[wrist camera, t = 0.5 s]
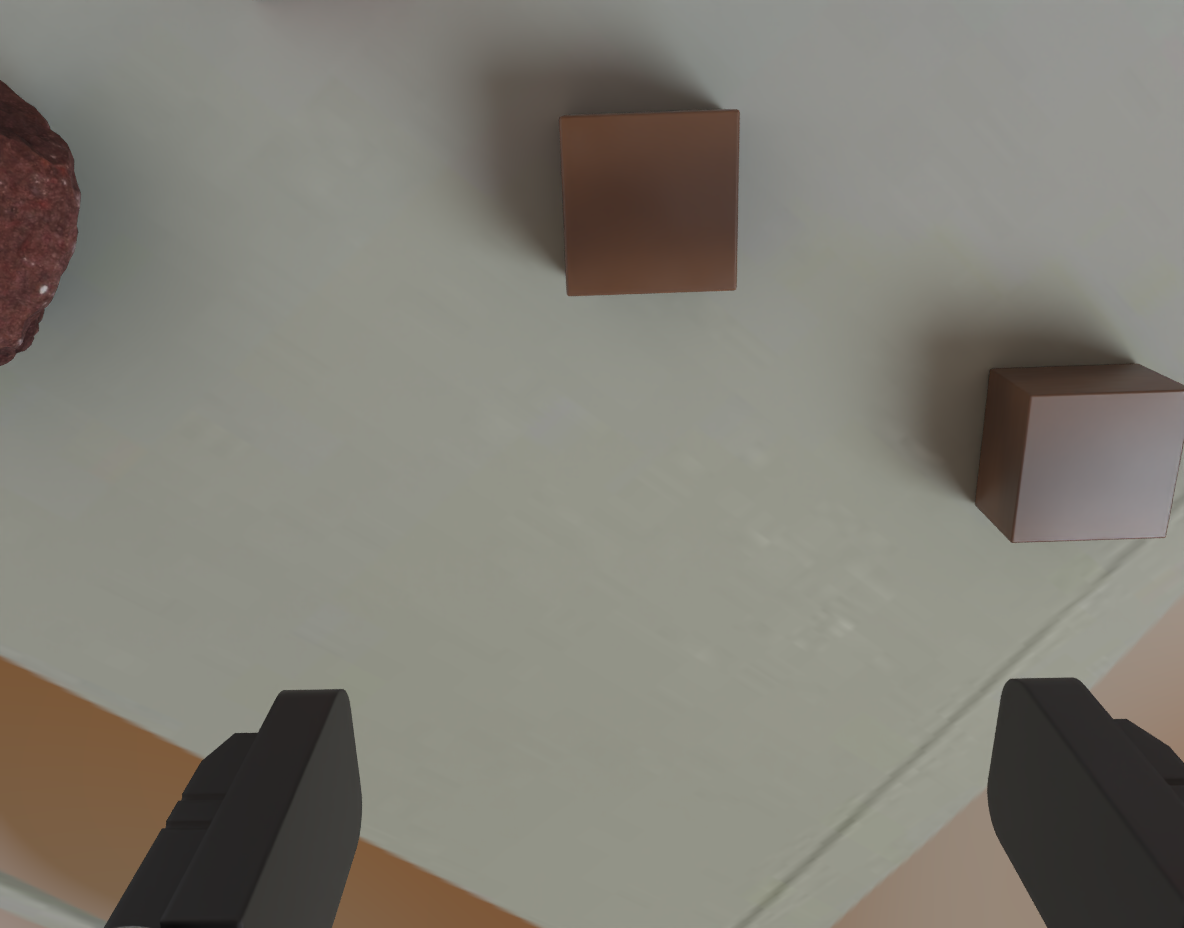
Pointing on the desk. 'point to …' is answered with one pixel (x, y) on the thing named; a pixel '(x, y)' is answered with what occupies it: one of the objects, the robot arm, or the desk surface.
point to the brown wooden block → (650, 201)
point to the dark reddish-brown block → (1080, 452)
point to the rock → (32, 219)
